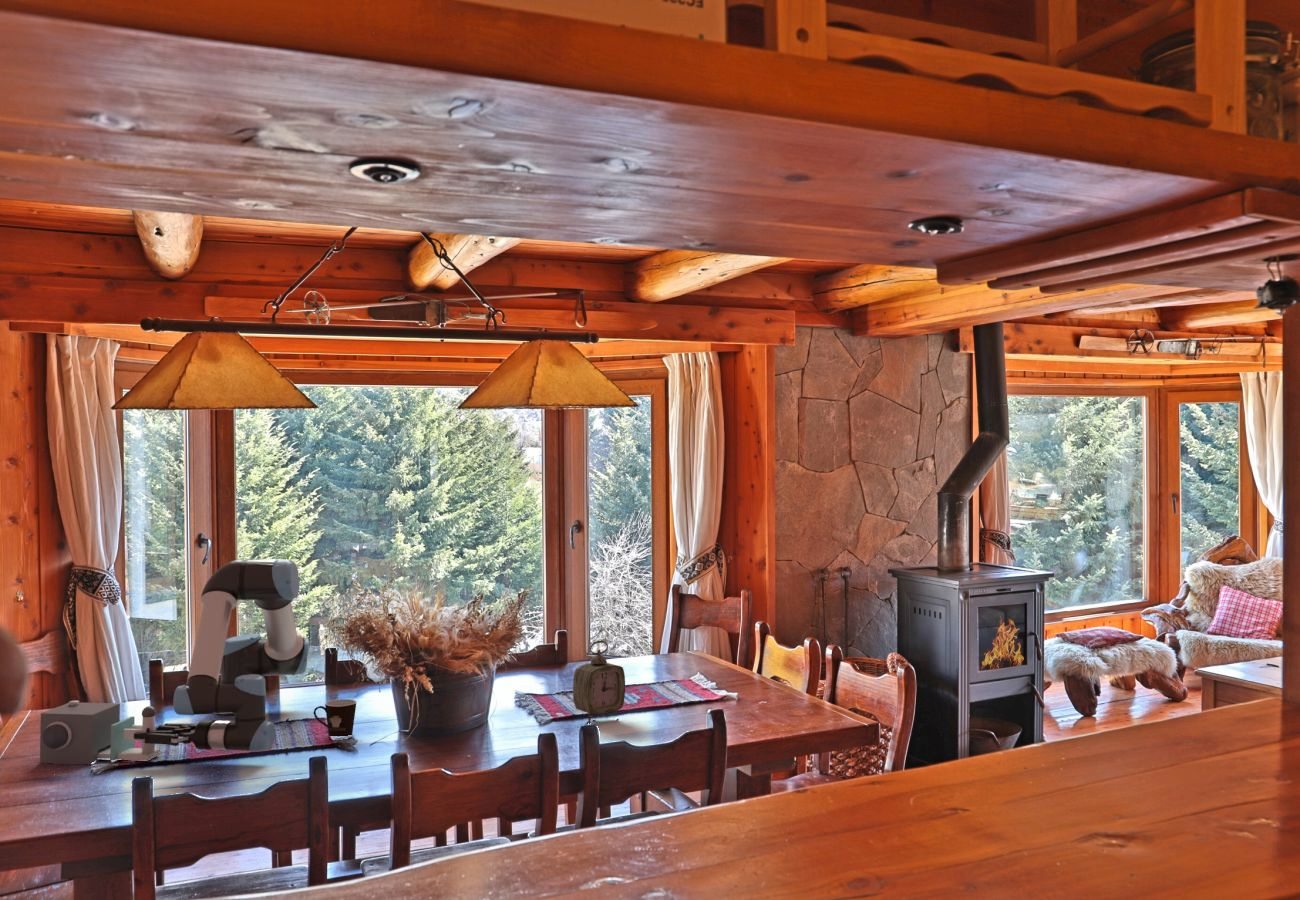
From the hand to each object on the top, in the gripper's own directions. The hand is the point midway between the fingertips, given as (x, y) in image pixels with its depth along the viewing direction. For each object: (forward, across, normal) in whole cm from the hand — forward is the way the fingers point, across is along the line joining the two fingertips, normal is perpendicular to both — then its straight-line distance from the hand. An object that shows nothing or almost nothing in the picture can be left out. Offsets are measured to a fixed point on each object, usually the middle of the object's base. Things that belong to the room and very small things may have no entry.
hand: (128, 732), depth 265 cm
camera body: (+13, 0, -7) cm, 15 cm away
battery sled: (+2, 0, -7) cm, 7 cm away
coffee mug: (-46, +26, -7) cm, 54 cm away
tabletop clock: (-119, +51, -7) cm, 129 cm away
